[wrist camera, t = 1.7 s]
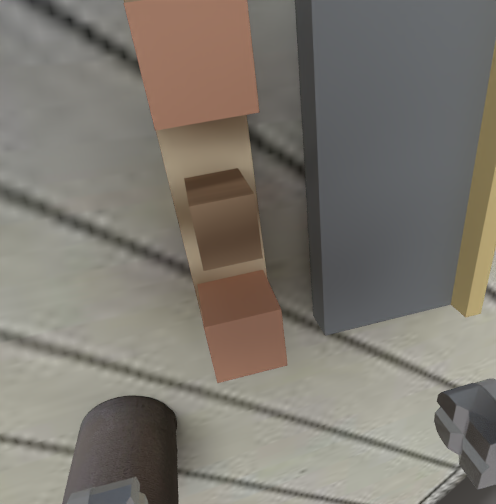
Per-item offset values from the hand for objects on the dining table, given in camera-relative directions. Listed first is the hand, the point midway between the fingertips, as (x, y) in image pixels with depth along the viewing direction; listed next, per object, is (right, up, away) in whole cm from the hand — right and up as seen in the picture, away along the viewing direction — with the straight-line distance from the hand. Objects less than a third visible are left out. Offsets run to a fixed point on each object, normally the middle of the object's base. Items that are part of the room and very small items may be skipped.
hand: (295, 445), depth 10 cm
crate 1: (-4, +16, +11) cm, 20 cm away
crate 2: (-2, +1, +19) cm, 19 cm away
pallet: (-4, +10, +19) cm, 22 cm away
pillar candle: (-14, -13, +29) cm, 35 cm away
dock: (+10, +13, +20) cm, 26 cm away
